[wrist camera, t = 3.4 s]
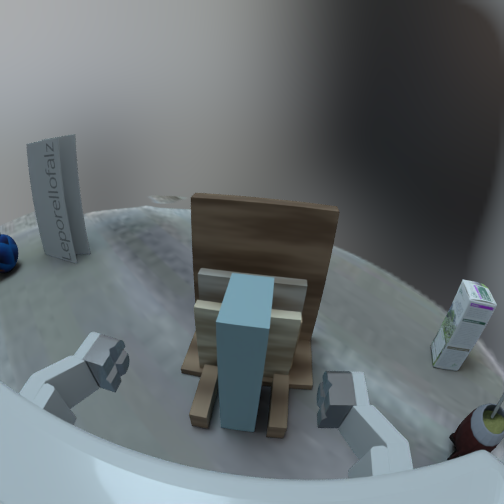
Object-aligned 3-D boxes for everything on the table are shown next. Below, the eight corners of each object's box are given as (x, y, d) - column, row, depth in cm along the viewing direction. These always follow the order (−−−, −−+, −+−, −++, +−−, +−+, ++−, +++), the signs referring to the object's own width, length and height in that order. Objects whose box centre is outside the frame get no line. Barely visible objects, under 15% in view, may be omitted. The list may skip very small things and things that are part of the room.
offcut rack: (311, 439, 28) (378, 297, 17) (164, 418, 29) (120, 267, 19) (309, 335, 44) (336, 206, 34) (200, 322, 46) (195, 192, 36)
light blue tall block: (254, 432, 29) (269, 328, 20) (220, 427, 29) (215, 321, 21) (259, 388, 35) (274, 277, 26) (230, 384, 35) (232, 273, 27)
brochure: (45, 254, 61) (26, 144, 47) (58, 245, 66) (42, 139, 52) (76, 263, 59) (57, 138, 45) (90, 253, 63) (75, 134, 49)
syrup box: (458, 371, 35) (499, 304, 28) (431, 367, 37) (471, 297, 30) (453, 349, 40) (488, 285, 33) (428, 345, 41) (462, 277, 35)
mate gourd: (458, 478, 18) (536, 416, 11) (431, 441, 25) (497, 370, 18) (485, 449, 20) (552, 382, 13) (460, 417, 27) (518, 346, 20)
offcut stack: (290, 379, 35) (308, 306, 29) (196, 367, 36) (188, 292, 30) (291, 352, 40) (306, 279, 34) (204, 341, 41) (200, 267, 35)
